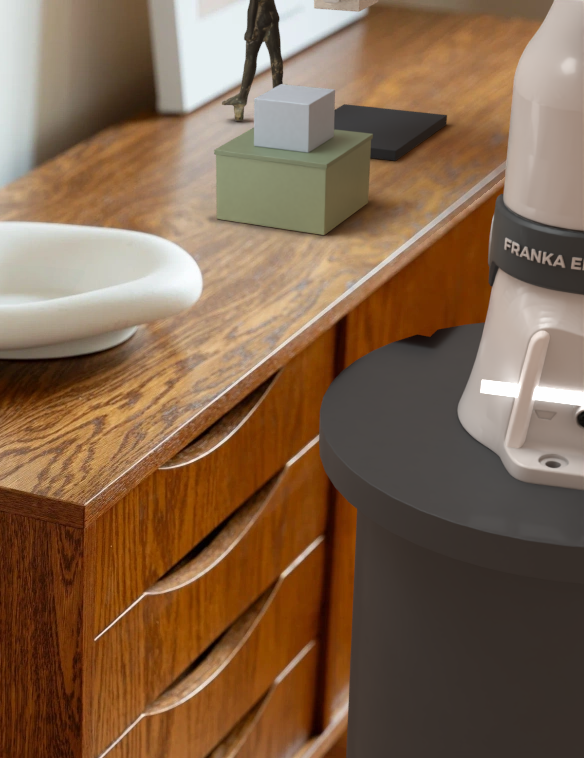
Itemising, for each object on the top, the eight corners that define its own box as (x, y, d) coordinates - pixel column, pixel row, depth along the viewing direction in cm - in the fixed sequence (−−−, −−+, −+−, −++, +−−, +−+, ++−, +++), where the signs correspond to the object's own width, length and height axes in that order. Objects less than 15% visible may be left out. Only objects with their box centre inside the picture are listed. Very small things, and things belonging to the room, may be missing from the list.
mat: (446, 124, 148) (447, 114, 147) (395, 161, 138) (396, 150, 138) (343, 113, 153) (343, 103, 153) (287, 147, 144) (287, 137, 143)
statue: (231, 111, 156) (231, -92, 146) (290, 115, 154) (293, -92, 144) (216, 124, 152) (215, -85, 142) (276, 128, 150) (278, -84, 140)
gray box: (334, 137, 125) (335, 89, 123) (308, 153, 122) (309, 104, 120) (280, 130, 128) (280, 83, 126) (253, 146, 124) (253, 98, 122)
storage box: (370, 202, 129) (373, 133, 126) (325, 236, 122) (326, 164, 119) (263, 187, 134) (264, 121, 131) (214, 219, 127) (213, 149, 124)
